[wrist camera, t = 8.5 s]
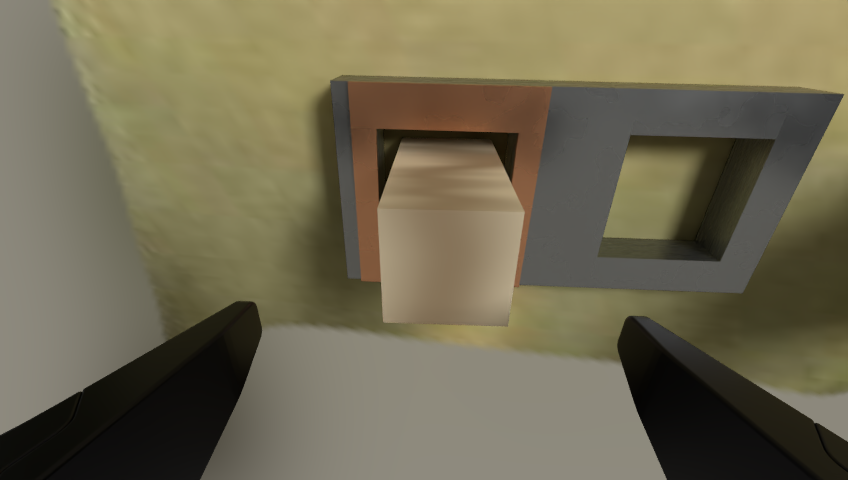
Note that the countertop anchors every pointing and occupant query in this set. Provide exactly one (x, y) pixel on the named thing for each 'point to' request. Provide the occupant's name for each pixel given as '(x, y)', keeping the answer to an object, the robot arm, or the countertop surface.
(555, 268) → the grey board
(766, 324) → the countertop surface
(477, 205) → the beech peg
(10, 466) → the robot arm
